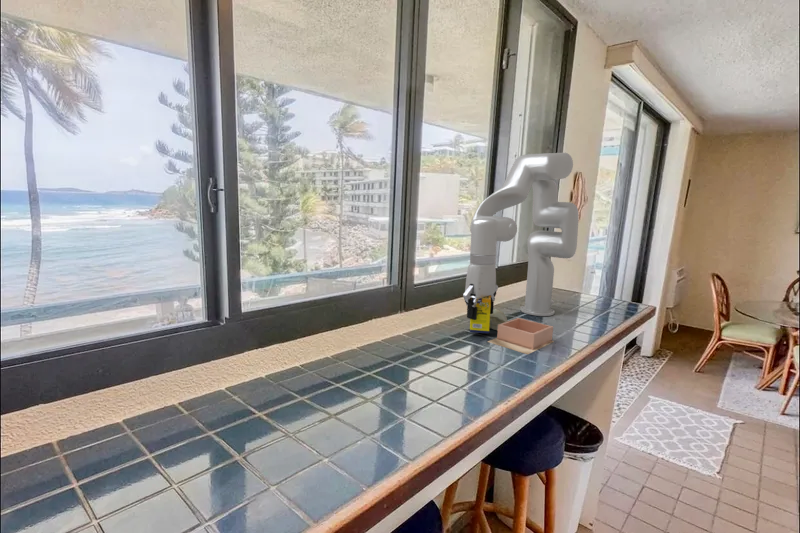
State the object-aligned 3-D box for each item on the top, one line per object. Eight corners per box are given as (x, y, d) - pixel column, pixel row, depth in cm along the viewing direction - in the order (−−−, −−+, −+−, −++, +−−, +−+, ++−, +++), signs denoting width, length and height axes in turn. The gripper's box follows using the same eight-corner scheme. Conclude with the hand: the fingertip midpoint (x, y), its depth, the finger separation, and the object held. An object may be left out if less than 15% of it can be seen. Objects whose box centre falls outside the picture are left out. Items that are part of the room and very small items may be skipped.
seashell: (466, 308, 132) (482, 299, 139) (464, 330, 135) (480, 320, 142) (502, 320, 124) (516, 310, 132) (500, 343, 127) (514, 332, 134)
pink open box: (517, 331, 130) (518, 317, 129) (551, 341, 121) (553, 326, 121) (497, 339, 122) (498, 324, 121) (532, 350, 113) (534, 334, 113)
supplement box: (489, 333, 122) (491, 298, 120) (469, 332, 123) (470, 297, 121) (489, 327, 128) (491, 293, 126) (470, 326, 129) (471, 292, 127)
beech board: (515, 334, 130) (515, 330, 130) (554, 345, 121) (554, 341, 121) (486, 345, 119) (487, 341, 119) (527, 358, 110) (527, 354, 110)
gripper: (488, 255, 130) (486, 307, 133) (454, 261, 118) (452, 319, 122) (509, 258, 125) (506, 312, 128) (476, 265, 113) (473, 325, 116)
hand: (480, 315), depth 125 cm, fingers closed on supplement box, 8 cm apart
